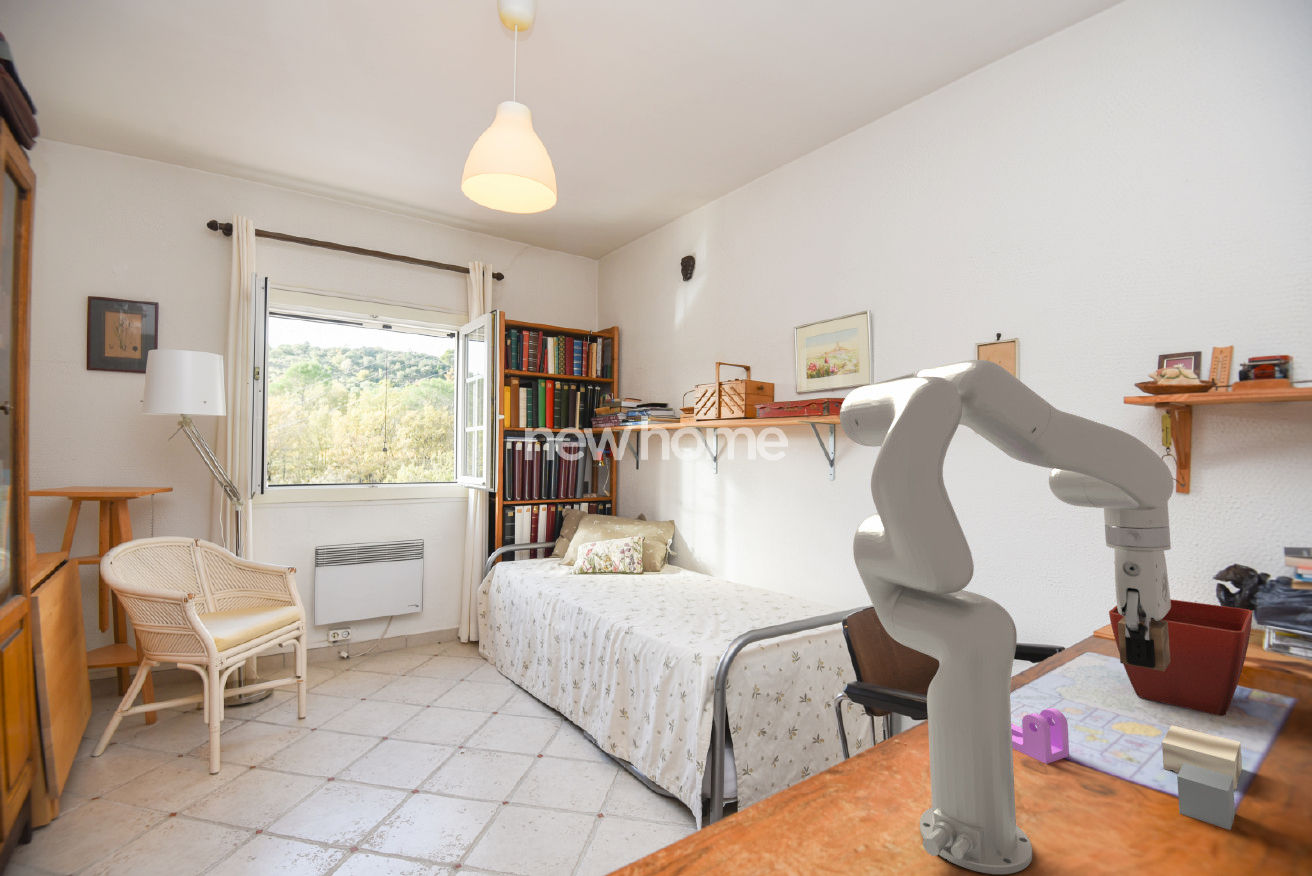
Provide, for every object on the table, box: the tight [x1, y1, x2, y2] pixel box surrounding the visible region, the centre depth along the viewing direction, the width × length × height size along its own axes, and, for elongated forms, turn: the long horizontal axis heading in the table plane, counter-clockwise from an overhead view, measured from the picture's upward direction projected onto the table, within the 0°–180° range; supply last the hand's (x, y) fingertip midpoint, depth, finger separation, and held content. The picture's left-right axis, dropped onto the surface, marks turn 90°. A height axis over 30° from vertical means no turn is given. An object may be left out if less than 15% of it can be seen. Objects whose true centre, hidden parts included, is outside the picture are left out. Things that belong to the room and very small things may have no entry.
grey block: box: [1176, 763, 1236, 831], centre depth 80 cm, size 5×5×5 cm
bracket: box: [1011, 707, 1070, 765], centre depth 101 cm, size 13×6×7 cm, turn 23°
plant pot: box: [1108, 598, 1254, 716], centre depth 116 cm, size 19×19×17 cm
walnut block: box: [1118, 616, 1170, 671], centre depth 88 cm, size 5×5×6 cm
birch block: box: [1161, 724, 1243, 790], centre depth 91 cm, size 8×8×4 cm
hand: (1145, 658), depth 88 cm, fingers closed on walnut block, 4 cm apart
